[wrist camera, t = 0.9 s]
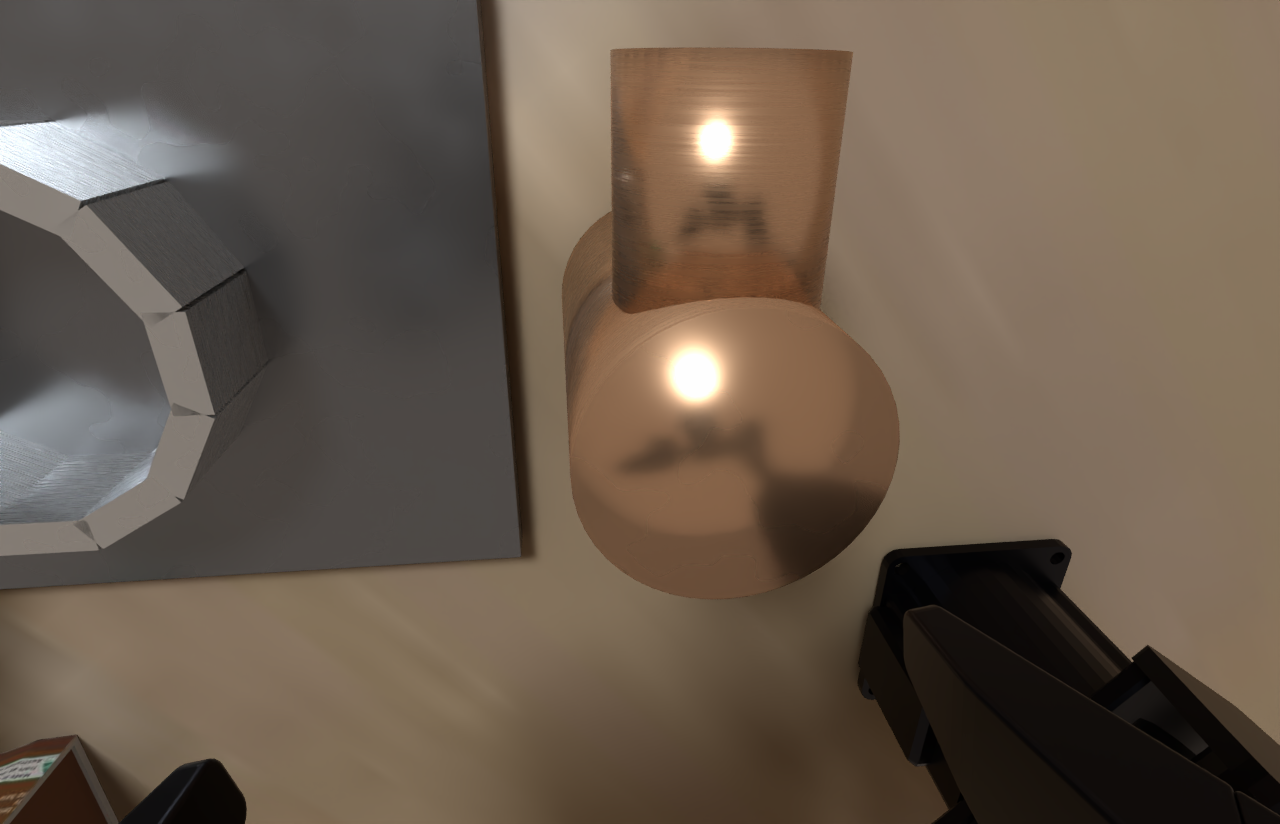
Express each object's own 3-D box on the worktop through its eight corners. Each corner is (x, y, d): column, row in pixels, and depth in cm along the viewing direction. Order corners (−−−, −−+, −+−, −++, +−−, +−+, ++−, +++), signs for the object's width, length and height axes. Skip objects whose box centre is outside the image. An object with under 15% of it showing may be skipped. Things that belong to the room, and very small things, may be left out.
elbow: (767, 60, 16) (979, 50, 8) (741, 379, 20) (871, 588, 12) (552, 57, 16) (554, 43, 8) (565, 385, 19) (575, 609, 11)
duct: (476, -45, 15) (452, -82, 11) (522, 536, 21) (516, 630, 18) (-651, -78, 13) (-1128, -136, 9) (-212, 579, 19) (-386, 696, 16)
